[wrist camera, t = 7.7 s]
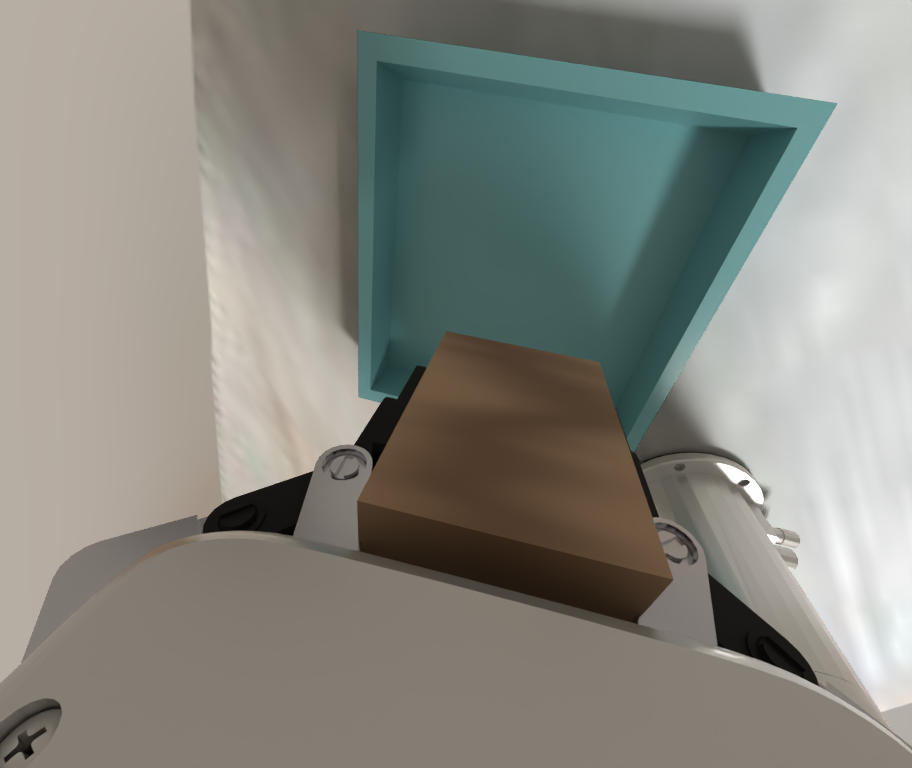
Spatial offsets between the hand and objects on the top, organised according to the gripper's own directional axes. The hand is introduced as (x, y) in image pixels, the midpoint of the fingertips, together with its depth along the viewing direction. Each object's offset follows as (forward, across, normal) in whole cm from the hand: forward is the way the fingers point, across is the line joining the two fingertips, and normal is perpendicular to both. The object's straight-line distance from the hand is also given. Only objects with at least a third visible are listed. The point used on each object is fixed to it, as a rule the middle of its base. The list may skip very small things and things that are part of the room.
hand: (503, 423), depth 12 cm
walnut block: (+1, 0, 0) cm, 1 cm away
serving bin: (+18, 0, 0) cm, 18 cm away
